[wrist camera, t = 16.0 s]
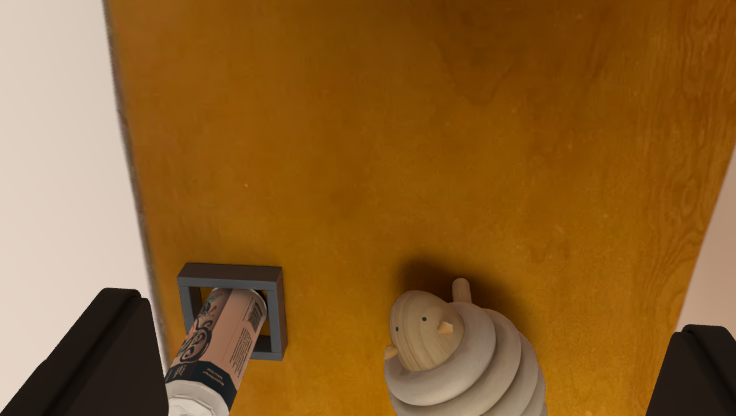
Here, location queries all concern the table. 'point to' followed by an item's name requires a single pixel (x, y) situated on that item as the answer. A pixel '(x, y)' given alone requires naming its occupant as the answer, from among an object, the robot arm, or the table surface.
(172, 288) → the table surface
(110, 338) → the robot arm
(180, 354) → the beer can
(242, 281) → the holder
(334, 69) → the table surface
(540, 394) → the toy sheep
